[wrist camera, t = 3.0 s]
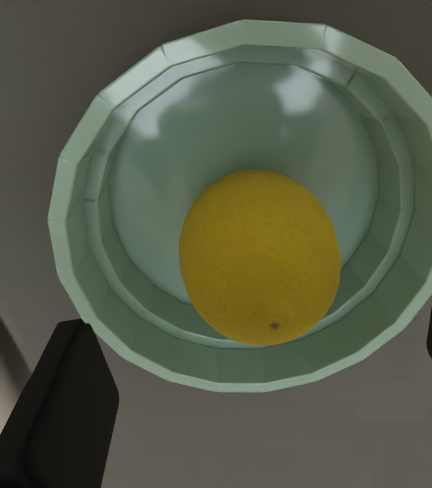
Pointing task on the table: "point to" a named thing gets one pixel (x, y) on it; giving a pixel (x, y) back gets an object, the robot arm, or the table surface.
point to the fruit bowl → (236, 159)
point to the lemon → (259, 257)
